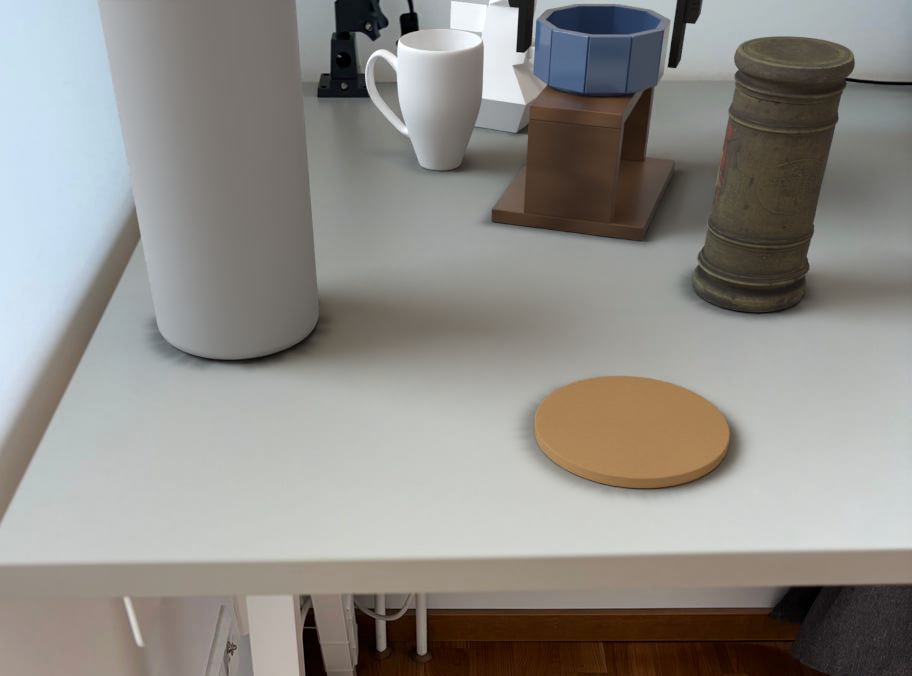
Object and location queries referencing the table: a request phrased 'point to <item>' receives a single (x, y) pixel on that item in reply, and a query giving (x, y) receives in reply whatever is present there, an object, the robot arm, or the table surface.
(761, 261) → the container
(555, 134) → the stand
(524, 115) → the white faceted sculpture
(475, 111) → the mug
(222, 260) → the cylinder vase
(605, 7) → the bowl
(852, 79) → the table surface
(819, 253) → the table surface
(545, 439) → the coaster
